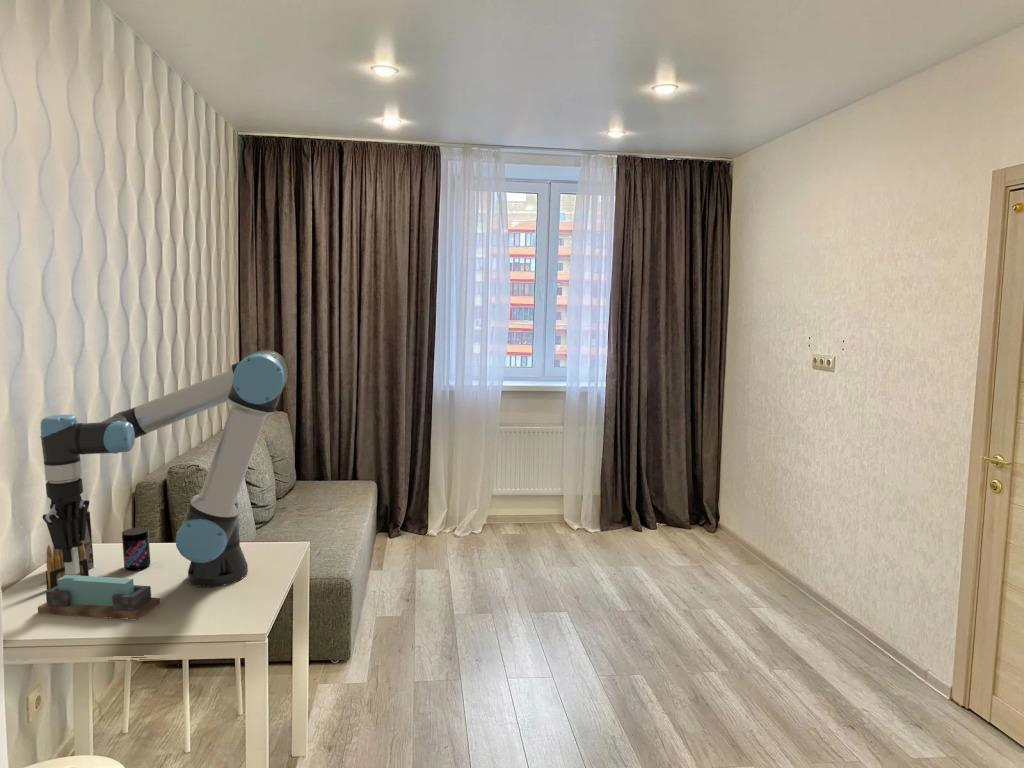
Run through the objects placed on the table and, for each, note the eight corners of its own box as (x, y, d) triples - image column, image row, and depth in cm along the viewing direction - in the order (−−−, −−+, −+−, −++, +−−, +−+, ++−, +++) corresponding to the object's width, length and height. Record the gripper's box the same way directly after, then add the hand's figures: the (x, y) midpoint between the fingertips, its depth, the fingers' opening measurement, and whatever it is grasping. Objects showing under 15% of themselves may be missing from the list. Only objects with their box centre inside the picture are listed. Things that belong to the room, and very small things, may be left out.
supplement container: (118, 570, 205) (115, 534, 203) (136, 561, 211) (133, 526, 210) (138, 572, 203) (136, 536, 202) (156, 563, 210) (154, 528, 208)
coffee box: (95, 567, 207) (91, 511, 205) (71, 574, 201) (66, 517, 199) (78, 560, 212) (73, 506, 210) (54, 568, 206) (49, 512, 204)
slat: (134, 602, 181) (133, 578, 180) (126, 607, 178) (125, 583, 177) (68, 597, 183) (66, 574, 182) (59, 602, 180) (57, 579, 179)
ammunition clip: (51, 591, 191) (47, 546, 189) (46, 590, 191) (42, 545, 190) (89, 576, 200) (85, 533, 199) (84, 575, 201) (81, 533, 200)
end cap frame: (160, 603, 183) (159, 584, 183) (137, 619, 174) (135, 599, 174) (65, 597, 187) (63, 578, 186) (38, 613, 178) (36, 593, 177)
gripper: (69, 472, 184) (77, 562, 187) (28, 486, 171) (38, 583, 175) (96, 472, 183) (104, 563, 186) (57, 487, 170) (67, 584, 174)
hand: (72, 573), depth 180 cm, fingers closed
